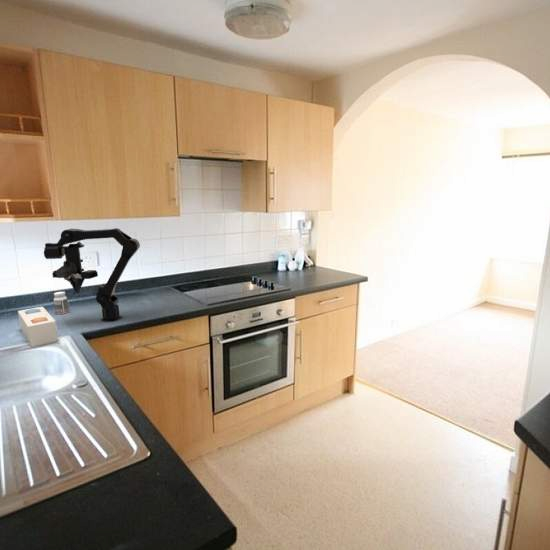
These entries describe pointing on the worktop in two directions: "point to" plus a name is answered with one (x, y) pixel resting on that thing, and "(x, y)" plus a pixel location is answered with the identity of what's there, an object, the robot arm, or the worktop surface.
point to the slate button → (32, 311)
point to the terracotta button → (39, 319)
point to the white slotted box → (38, 327)
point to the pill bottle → (60, 303)
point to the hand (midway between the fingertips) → (77, 292)
